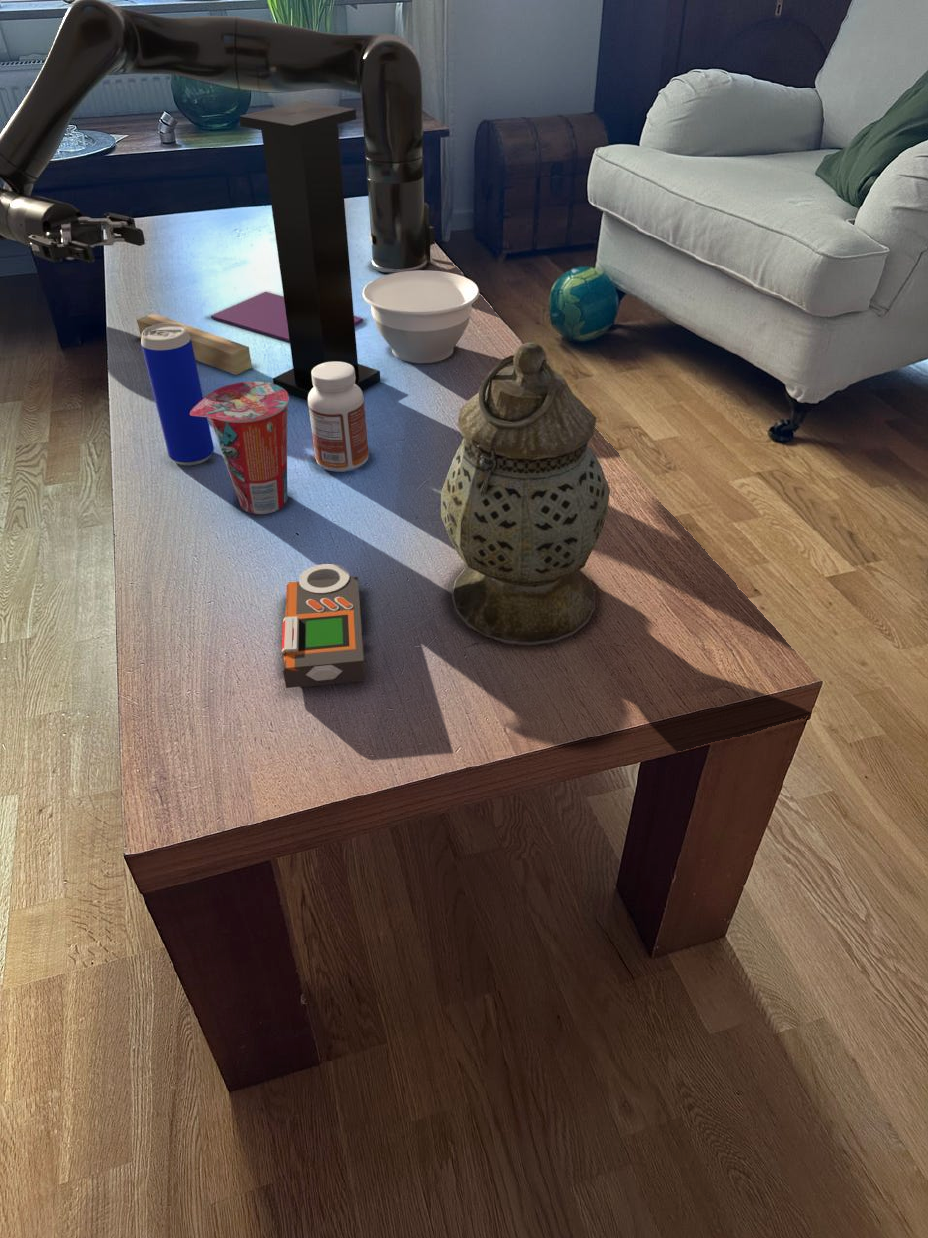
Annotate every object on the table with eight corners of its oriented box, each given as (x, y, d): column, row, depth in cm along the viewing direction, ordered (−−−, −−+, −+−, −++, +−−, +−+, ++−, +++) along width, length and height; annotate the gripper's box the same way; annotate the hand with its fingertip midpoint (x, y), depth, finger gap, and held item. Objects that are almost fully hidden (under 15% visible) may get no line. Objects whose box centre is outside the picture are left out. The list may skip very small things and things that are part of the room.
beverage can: (220, 446, 105) (195, 322, 95) (206, 468, 101) (179, 342, 91) (178, 444, 105) (149, 320, 96) (163, 466, 101) (131, 340, 92)
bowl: (459, 322, 133) (459, 264, 128) (494, 365, 122) (495, 304, 116) (356, 335, 130) (351, 276, 124) (381, 381, 118) (377, 318, 113)
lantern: (623, 628, 80) (663, 366, 63) (477, 666, 76) (479, 398, 60) (557, 543, 90) (577, 298, 73) (425, 573, 86) (415, 322, 70)
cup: (263, 472, 100) (246, 373, 92) (319, 496, 97) (306, 394, 89) (201, 510, 94) (177, 407, 87) (257, 536, 91) (237, 431, 83)
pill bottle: (358, 442, 106) (350, 353, 98) (377, 466, 101) (370, 375, 94) (308, 453, 104) (296, 364, 96) (325, 478, 99) (314, 386, 92)
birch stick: (141, 339, 129) (136, 319, 127) (158, 332, 130) (153, 312, 128) (236, 375, 120) (232, 354, 118) (252, 367, 121) (248, 346, 119)
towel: (265, 293, 142) (265, 291, 142) (362, 320, 134) (362, 318, 134) (211, 318, 135) (210, 315, 134) (310, 348, 126) (309, 345, 126)
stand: (273, 388, 116) (232, 114, 96) (325, 362, 123) (296, 99, 102) (330, 409, 112) (299, 126, 91) (380, 381, 118) (362, 110, 97)
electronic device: (356, 558, 84) (363, 659, 72) (359, 584, 86) (366, 686, 74) (284, 564, 83) (279, 667, 71) (288, 590, 85) (284, 694, 73)
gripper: (-6, 210, 123) (65, 231, 116) (81, 187, 132) (151, 204, 125) (12, 265, 128) (81, 288, 121) (95, 239, 137) (163, 259, 130)
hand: (117, 245), depth 123 cm, fingers open, 8 cm apart
